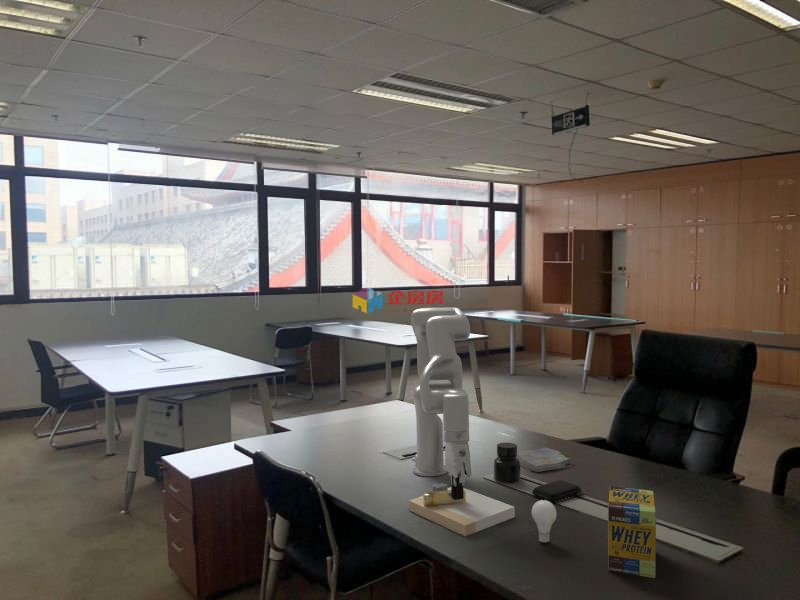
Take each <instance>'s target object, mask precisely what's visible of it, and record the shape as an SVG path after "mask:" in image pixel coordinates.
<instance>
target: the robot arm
mask: <svg viewBox="0 0 800 600" xmlns="http://www.w3.org/2000/svg"><path fill="white" fill-rule="evenodd" d="M410 320H411V321H410V323H411V327H412V330H413V333H414V336H415V338H416V347H417V349H416V351H417V353H416V356H417V358H416V359H417V361H416V362H417V363H416V365H417V375H418V377H419V385H417V386H416V387H414V388H415V389H414V391H413V402H414V408H415V418H416V419H415V421H416V454H415V455H414V457H412V458H411V461H412V462H414V463H415V465H414V466H413V467H412V472H413V473H414V474H415V475H417V476H421V477H428V478H429V477H430V478H432V477H439V476H443V475H446V474H447V473H449V474H450V484H451V485H450V487H451V497H452V498H453V499H454V500H458V499H463V498H464V493H463V488H464V485H465V483H466V476H467V477H471V476H472V464H471V452H470V447H469V446H470V445H469V442H470V410H469V409H470V408H469V407H470V405H469V404H470V403H469V401H470V400H469V395H468V393H467V392H466V390H465V389H464V388H463V363H462V360H461V357H460V356H459V355H458V354H457V351H456V345H455V342H456V341H457V342H459V341H467V340H468V339H469V337H470V335H471V325H470V322H469V319H468V317H467V315H466V314H465V313H464V312H463V311H462V309H460V308H459V307H455V306H454V307H453V306H452V307H449V306H448V307H443V306H442V307H421V308H417V309H414V310H413V311H412V312H411V315H410ZM430 381H448V382H445V383H444V382H441V383H439V382H438V383H437V382H436V383H430ZM440 414H441V415H442V418H441V417H440V416H439V415H440ZM444 443H445V450H444ZM444 457H445V460H444ZM444 461H445V462H444ZM444 463H445V464H444Z"/></svg>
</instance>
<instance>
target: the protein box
mask: <svg viewBox="0 0 800 600" xmlns="http://www.w3.org/2000/svg"><path fill="white" fill-rule="evenodd" d="M607 504H608V505H607V511H608V512H607V557H608V558H607V565H608V566H607V568H608V569H607V571H608V572H614V573H619V574H627V575H634V576H639V577H645V578H651V579H655V578H656V569H657V568H656V563H657V562H656V560H657V558H656V557H657V555H656V554H657V553H656V552H657V551H656V549H657V545H656V543H657V540H656V539H657V536H656V535H657V528H656V526H657V518H656V517H657V516H656V515H657V513H656V505H655V493H654V491H653V490H648V489H639V488H638V489H637V488H630V487H623V486H622V487H621V486H613V485H610V486H609V494H608V503H607Z"/></svg>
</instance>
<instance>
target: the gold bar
mask: <svg viewBox="0 0 800 600" xmlns="http://www.w3.org/2000/svg"><path fill="white" fill-rule="evenodd" d="M463 493H464V498H463V499H458V500H454V499H453V498H452V497H451V490H448V491H438V492H433V491H426V492H425V491H424V492H423V494H422V496H423V504H424V505H425V506H433V505H440V504H449V503H459V502H466V491H465V490H464V489H463Z"/></svg>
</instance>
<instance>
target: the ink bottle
mask: <svg viewBox="0 0 800 600" xmlns="http://www.w3.org/2000/svg"><path fill="white" fill-rule="evenodd" d="M517 451H518V444H516V443H514V442H499V443H497V444H496V456H497V457H496V458H494V461H493V476H494V479H493V480H495V481H496V482H498V481H499V482H498V483H502V482H503V483H502V484H515V483H518V482H520V481H521V466H520V461H519V459H517V457H516V456H517Z"/></svg>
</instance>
